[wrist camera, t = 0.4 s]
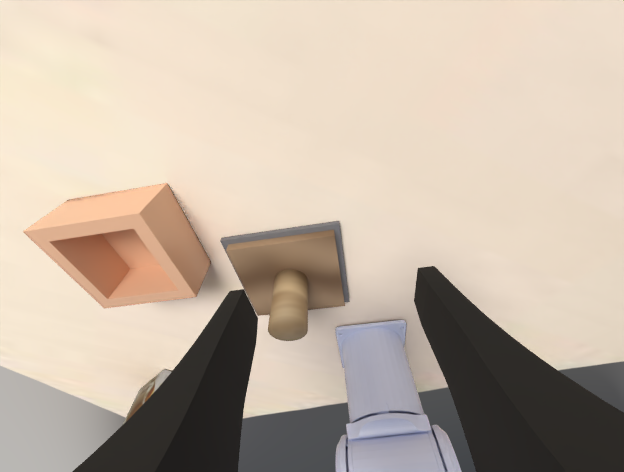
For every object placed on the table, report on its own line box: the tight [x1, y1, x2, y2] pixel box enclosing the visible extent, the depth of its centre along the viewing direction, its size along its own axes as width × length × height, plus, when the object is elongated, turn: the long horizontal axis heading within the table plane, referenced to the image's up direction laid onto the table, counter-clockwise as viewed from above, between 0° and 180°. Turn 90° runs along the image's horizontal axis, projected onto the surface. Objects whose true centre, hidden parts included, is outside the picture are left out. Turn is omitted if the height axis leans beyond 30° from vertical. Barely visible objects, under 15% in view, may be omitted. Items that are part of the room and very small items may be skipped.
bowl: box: [23, 183, 211, 308], centre depth 20 cm, size 8×8×4 cm
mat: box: [221, 221, 349, 312], centre depth 25 cm, size 10×10×1 cm
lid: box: [226, 230, 345, 341], centre depth 22 cm, size 9×9×6 cm
